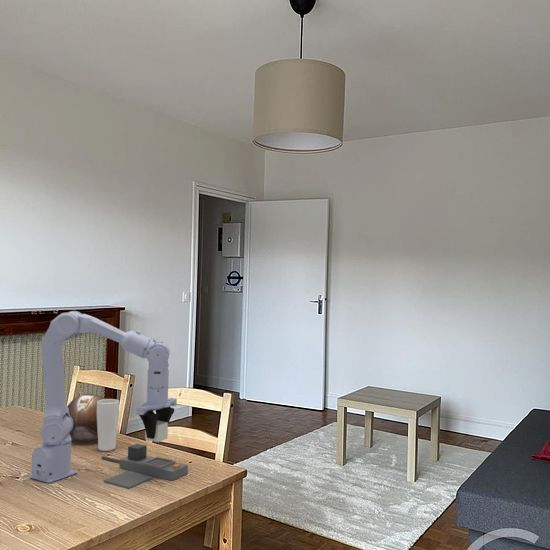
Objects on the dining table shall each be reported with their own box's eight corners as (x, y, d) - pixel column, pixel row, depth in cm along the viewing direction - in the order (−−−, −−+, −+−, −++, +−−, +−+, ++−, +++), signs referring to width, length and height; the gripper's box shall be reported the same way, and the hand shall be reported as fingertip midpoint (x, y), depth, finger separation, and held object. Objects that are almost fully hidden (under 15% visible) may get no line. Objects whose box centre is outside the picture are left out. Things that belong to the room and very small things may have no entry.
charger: (157, 442, 150) (158, 425, 150) (145, 439, 152) (145, 423, 152) (167, 438, 154) (167, 422, 154) (155, 436, 156) (155, 420, 156)
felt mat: (129, 488, 141) (129, 487, 141) (103, 481, 145) (103, 480, 145) (153, 478, 149) (153, 476, 149) (128, 472, 153) (128, 470, 153)
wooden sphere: (60, 447, 174) (62, 399, 174) (65, 434, 189) (66, 390, 189) (110, 444, 178) (111, 398, 178) (111, 432, 193) (112, 389, 193)
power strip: (172, 480, 147) (172, 458, 147) (94, 461, 161) (94, 441, 161) (187, 473, 153) (188, 452, 153) (110, 455, 167) (111, 436, 167)
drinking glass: (104, 453, 169) (105, 404, 169) (90, 449, 173) (92, 401, 173) (122, 448, 174) (123, 400, 174) (109, 444, 178) (110, 397, 179)
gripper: (151, 392, 145) (149, 444, 145) (185, 384, 158) (184, 432, 158) (130, 389, 148) (129, 440, 148) (166, 381, 161) (164, 428, 161)
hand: (156, 436), depth 153 cm, fingers closed on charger, 4 cm apart
